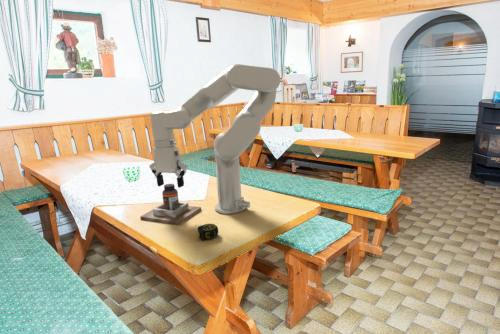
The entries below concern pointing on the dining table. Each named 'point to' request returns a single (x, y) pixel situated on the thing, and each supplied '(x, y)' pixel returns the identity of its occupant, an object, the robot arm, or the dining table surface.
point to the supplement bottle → (170, 197)
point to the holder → (171, 214)
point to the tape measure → (207, 231)
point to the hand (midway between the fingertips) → (170, 185)
